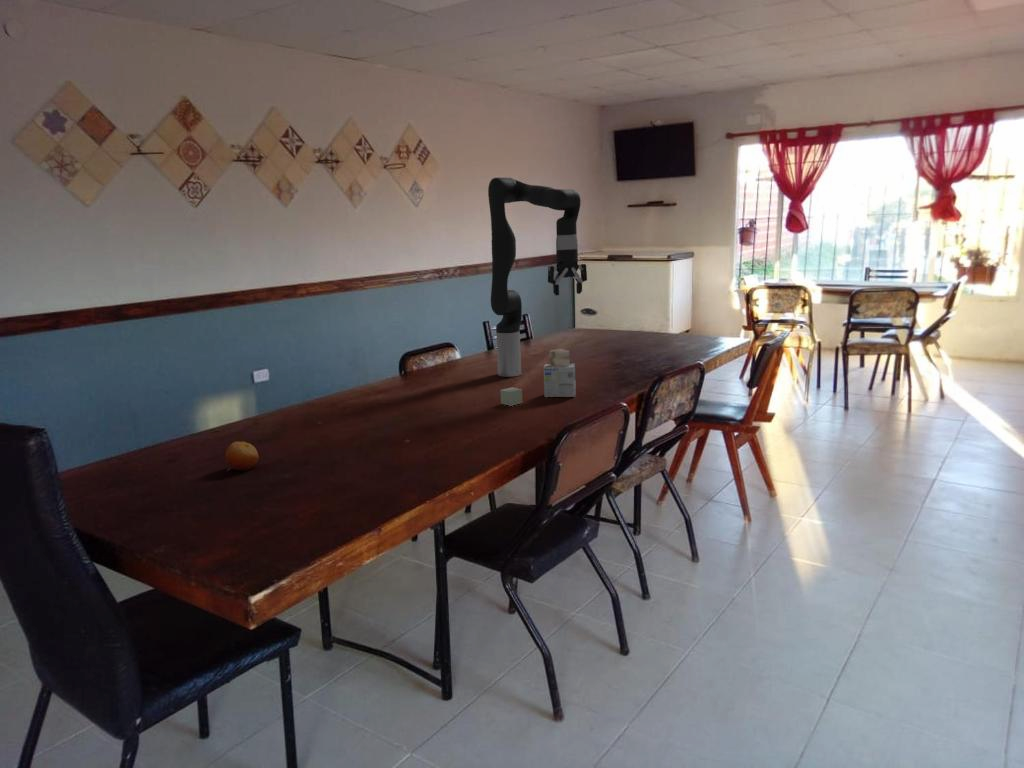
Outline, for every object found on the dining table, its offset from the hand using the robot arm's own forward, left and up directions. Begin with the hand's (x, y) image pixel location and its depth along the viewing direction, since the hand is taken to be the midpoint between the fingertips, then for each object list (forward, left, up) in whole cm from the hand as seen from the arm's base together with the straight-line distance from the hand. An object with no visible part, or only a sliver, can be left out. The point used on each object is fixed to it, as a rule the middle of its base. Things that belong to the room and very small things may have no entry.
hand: (567, 294), depth 264 cm
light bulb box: (+13, -10, -33) cm, 37 cm away
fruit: (+46, -114, -33) cm, 127 cm away
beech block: (+13, -10, -22) cm, 28 cm away
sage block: (+16, -29, -33) cm, 47 cm away
